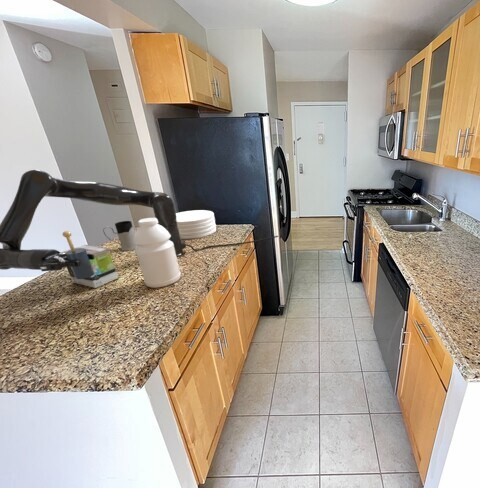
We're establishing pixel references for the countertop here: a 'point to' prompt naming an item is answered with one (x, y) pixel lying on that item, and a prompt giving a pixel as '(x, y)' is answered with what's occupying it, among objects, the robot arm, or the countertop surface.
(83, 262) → the spoon crock
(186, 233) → the plate stack
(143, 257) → the bottle
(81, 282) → the tea box
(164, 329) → the countertop surface
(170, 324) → the countertop surface
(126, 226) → the glass holder
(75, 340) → the countertop surface
